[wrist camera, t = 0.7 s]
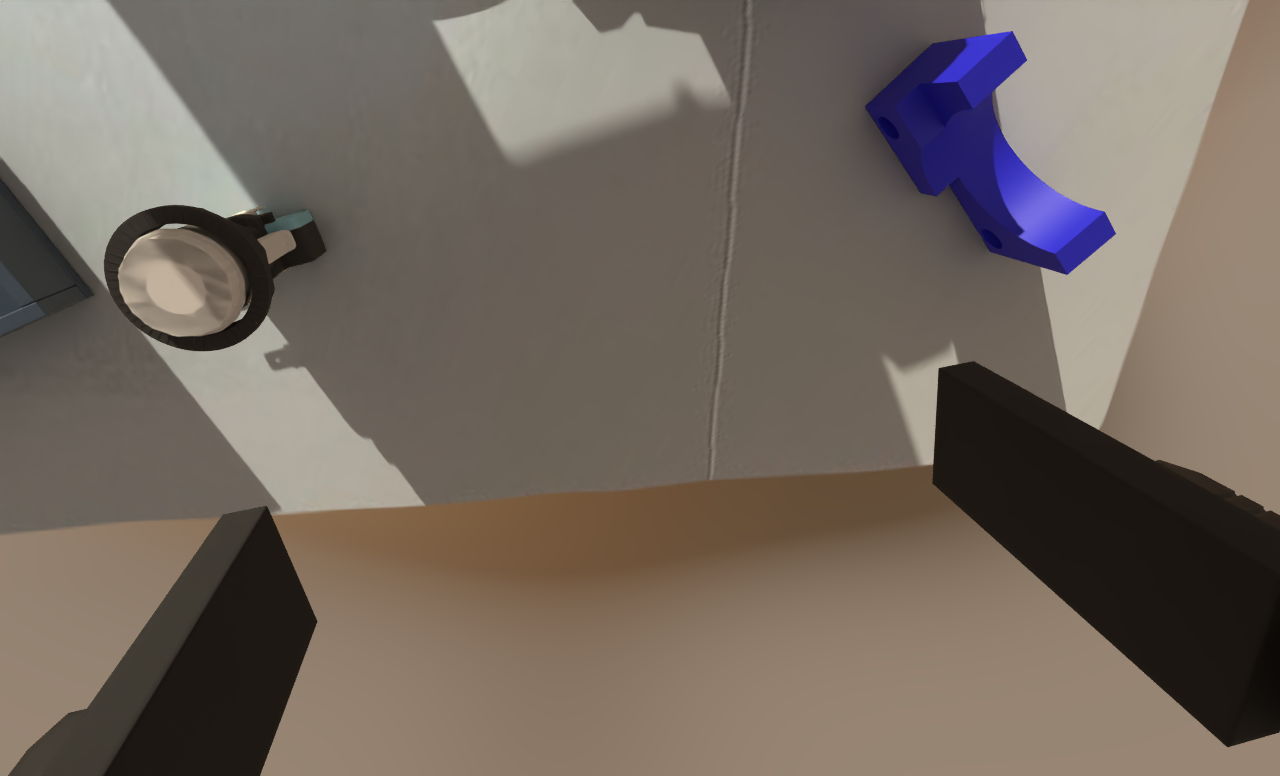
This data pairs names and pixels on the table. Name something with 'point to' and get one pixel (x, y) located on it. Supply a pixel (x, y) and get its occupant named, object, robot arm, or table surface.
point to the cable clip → (981, 153)
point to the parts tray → (31, 270)
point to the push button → (204, 271)
